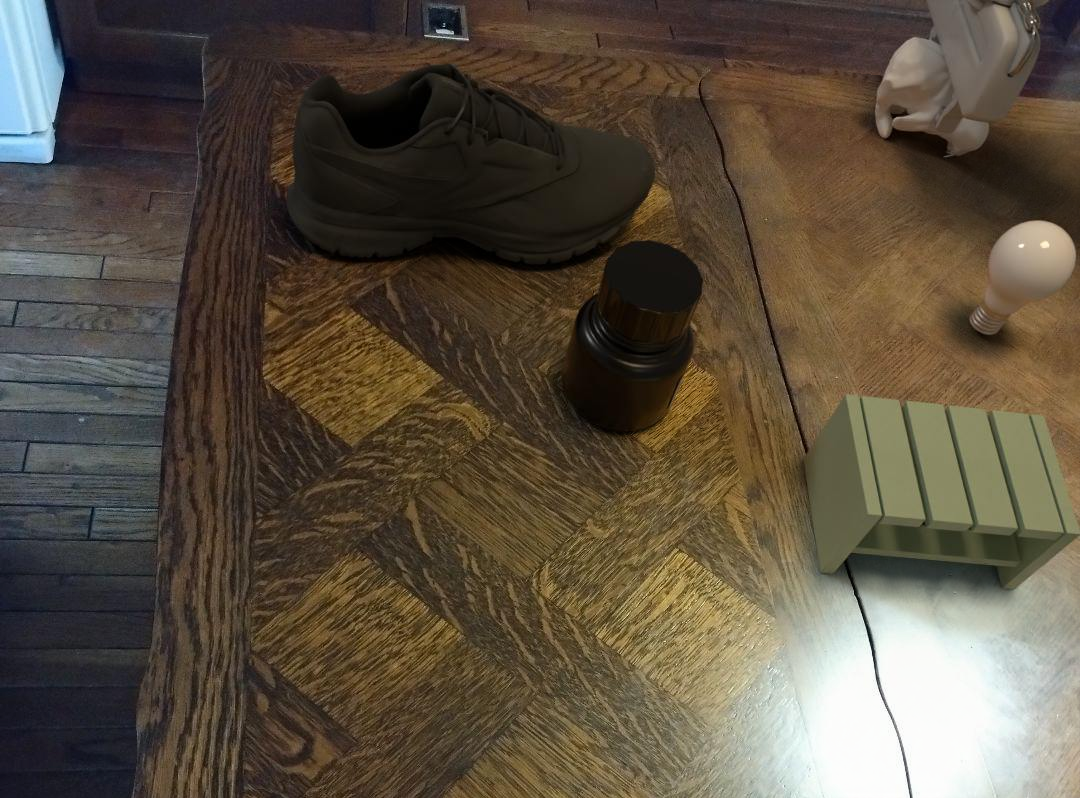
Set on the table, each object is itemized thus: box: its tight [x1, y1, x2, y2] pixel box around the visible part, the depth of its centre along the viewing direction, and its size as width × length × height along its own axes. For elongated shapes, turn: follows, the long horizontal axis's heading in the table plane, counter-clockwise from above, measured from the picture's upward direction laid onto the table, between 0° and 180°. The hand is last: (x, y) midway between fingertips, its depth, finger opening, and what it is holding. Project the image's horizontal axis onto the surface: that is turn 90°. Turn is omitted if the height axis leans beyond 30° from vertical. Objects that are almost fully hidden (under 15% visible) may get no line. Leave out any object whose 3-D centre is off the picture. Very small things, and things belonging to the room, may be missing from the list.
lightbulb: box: [969, 219, 1077, 336], centre depth 82 cm, size 6×6×11 cm
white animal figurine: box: [874, 36, 990, 158], centre depth 96 cm, size 6×8×12 cm
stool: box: [802, 393, 1080, 590], centre depth 71 cm, size 15×10×8 cm, turn 89°
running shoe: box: [285, 62, 656, 265], centre depth 78 cm, size 11×30×14 cm, turn 104°
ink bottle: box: [561, 239, 704, 432], centre depth 72 cm, size 10×9×12 cm
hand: (934, 101), depth 96 cm, fingers closed on white animal figurine, 6 cm apart
